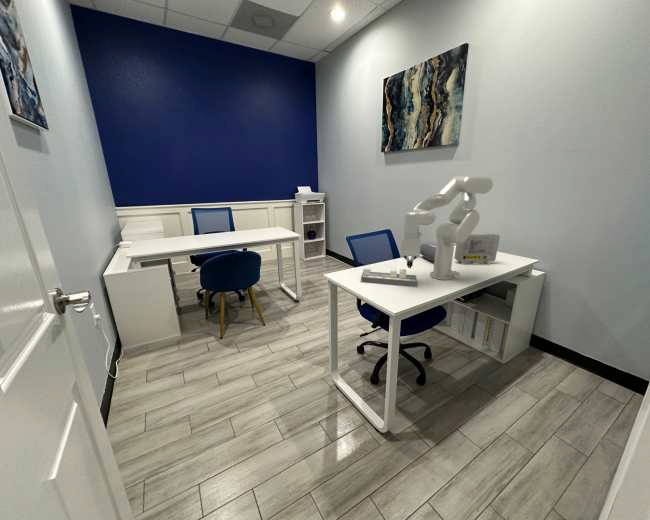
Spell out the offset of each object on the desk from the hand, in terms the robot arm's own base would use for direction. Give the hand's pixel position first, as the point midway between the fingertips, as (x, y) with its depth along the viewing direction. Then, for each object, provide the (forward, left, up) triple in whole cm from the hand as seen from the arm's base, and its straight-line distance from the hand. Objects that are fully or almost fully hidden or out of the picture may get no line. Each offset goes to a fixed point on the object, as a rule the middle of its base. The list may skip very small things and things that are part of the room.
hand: (409, 267), depth 154 cm
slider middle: (+8, +1, -6) cm, 10 cm away
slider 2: (+3, +1, -6) cm, 7 cm away
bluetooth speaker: (-17, -45, -9) cm, 49 cm away
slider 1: (+23, +1, -6) cm, 24 cm away
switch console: (+11, +1, -9) cm, 14 cm away
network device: (-44, -46, -9) cm, 64 cm away
